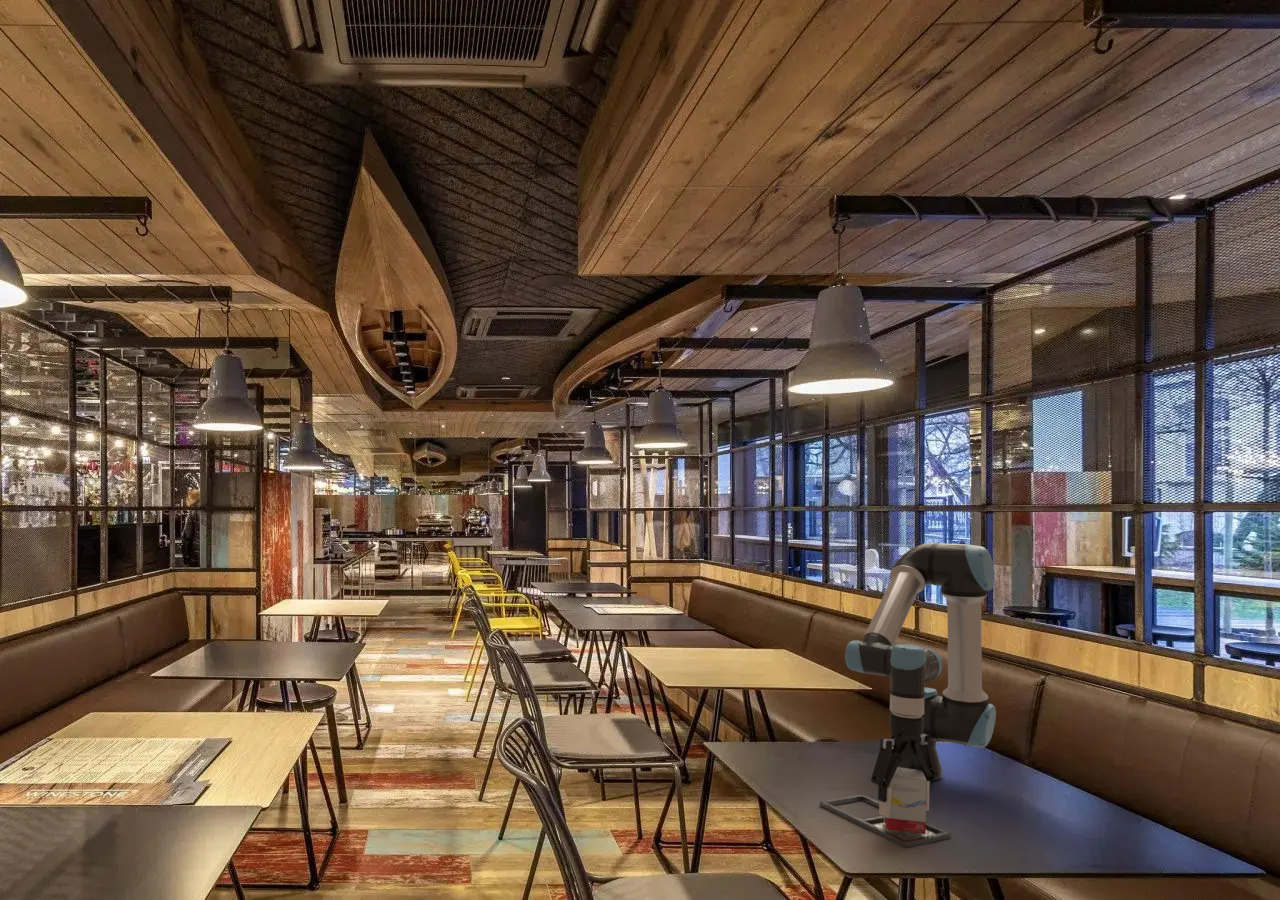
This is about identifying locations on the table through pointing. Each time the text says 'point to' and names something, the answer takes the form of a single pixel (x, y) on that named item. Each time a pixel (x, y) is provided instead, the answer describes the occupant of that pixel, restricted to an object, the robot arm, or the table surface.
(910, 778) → the ink box
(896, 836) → the grey flat rectangular frame
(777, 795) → the table surface
